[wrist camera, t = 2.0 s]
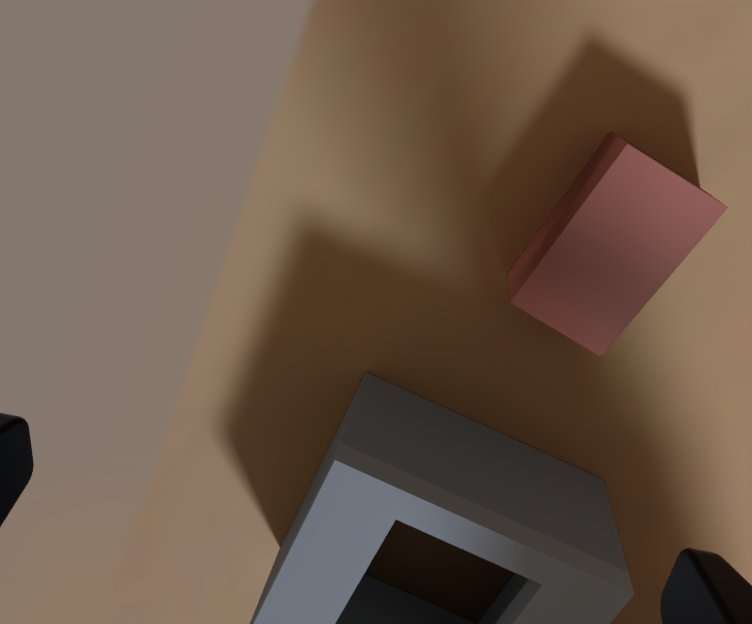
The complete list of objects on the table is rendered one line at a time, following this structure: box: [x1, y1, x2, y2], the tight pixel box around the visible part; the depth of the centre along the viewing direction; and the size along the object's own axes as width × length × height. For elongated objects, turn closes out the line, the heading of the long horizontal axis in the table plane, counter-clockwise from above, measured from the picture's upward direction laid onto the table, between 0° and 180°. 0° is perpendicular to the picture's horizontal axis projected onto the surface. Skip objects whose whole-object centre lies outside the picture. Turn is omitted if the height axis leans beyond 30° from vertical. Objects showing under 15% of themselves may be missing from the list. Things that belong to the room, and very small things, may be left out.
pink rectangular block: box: [507, 131, 728, 357], centre depth 18 cm, size 5×3×2 cm, turn 151°
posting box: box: [250, 372, 635, 624], centre depth 22 cm, size 9×9×5 cm
